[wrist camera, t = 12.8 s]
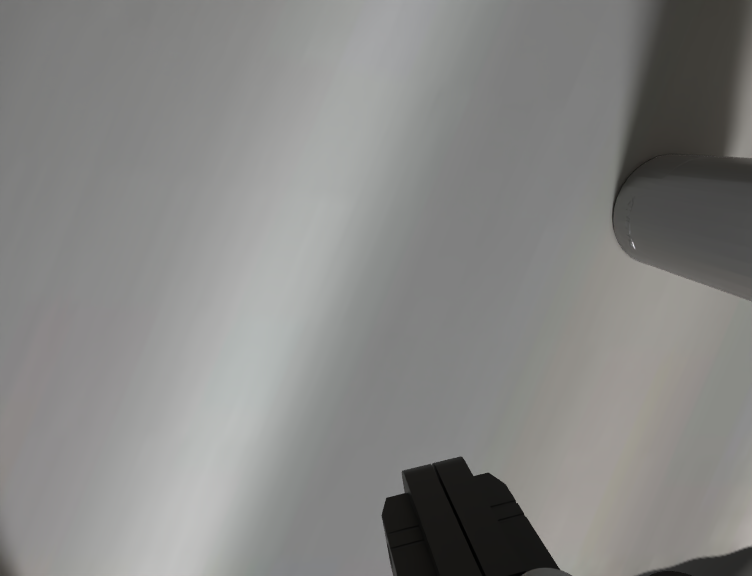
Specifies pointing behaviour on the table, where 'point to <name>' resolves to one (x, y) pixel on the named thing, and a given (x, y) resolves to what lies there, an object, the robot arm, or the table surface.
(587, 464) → the table surface
